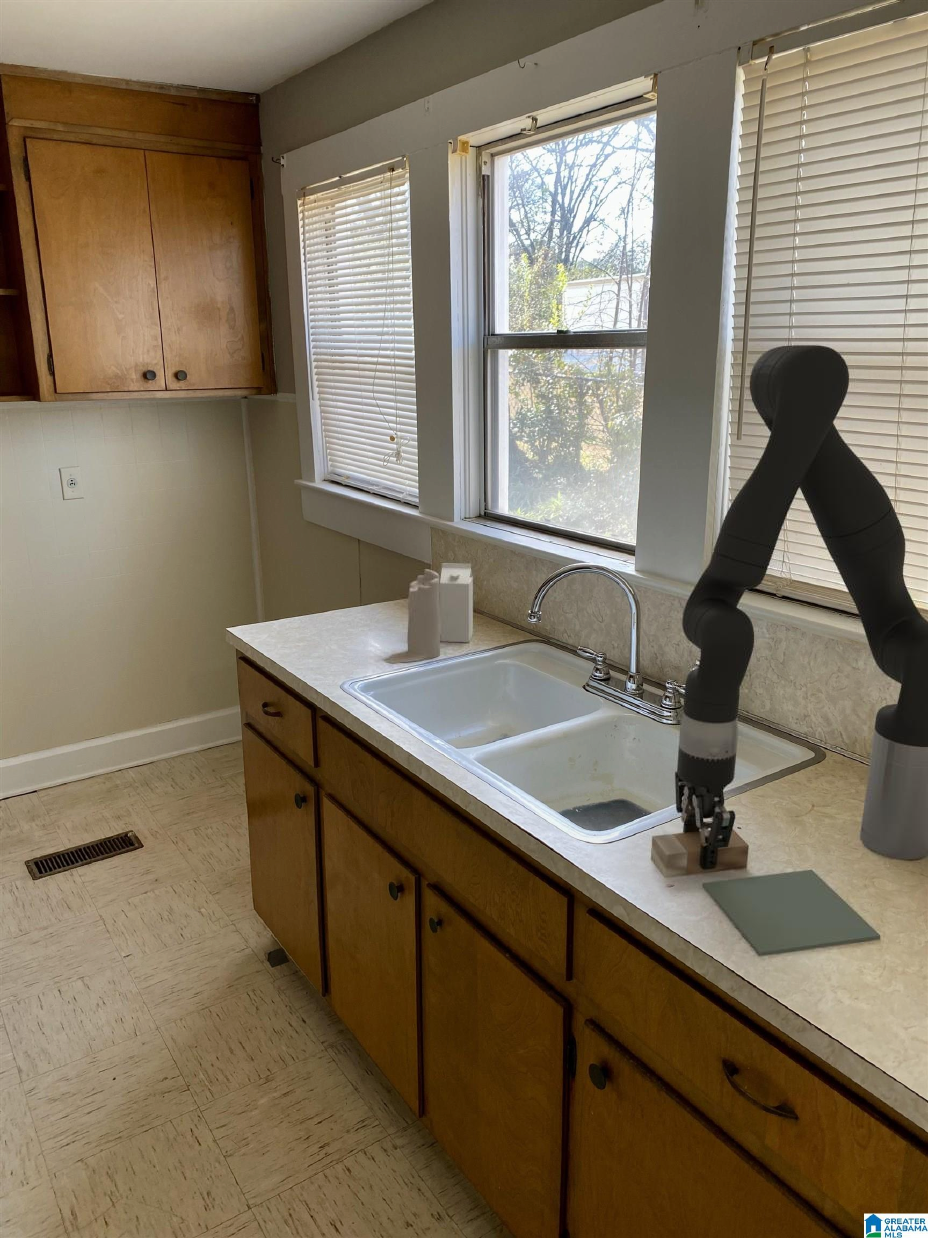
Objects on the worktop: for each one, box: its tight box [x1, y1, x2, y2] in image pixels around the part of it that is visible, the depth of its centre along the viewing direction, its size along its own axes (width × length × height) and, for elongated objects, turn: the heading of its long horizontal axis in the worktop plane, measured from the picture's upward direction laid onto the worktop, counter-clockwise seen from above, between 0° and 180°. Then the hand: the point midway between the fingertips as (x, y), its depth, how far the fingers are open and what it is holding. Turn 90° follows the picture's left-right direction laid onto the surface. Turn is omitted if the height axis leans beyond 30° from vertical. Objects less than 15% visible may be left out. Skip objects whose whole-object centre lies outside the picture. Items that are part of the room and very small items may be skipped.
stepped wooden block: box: [650, 828, 749, 878], centre depth 127 cm, size 12×5×4 cm, turn 101°
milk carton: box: [439, 562, 474, 643], centre depth 225 cm, size 7×7×19 cm
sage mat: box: [702, 869, 881, 957], centre depth 117 cm, size 16×15×1 cm
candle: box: [382, 568, 441, 664], centre depth 211 cm, size 7×14×20 cm, turn 121°
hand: (698, 856), depth 127 cm, fingers closed on stepped wooden block, 5 cm apart
